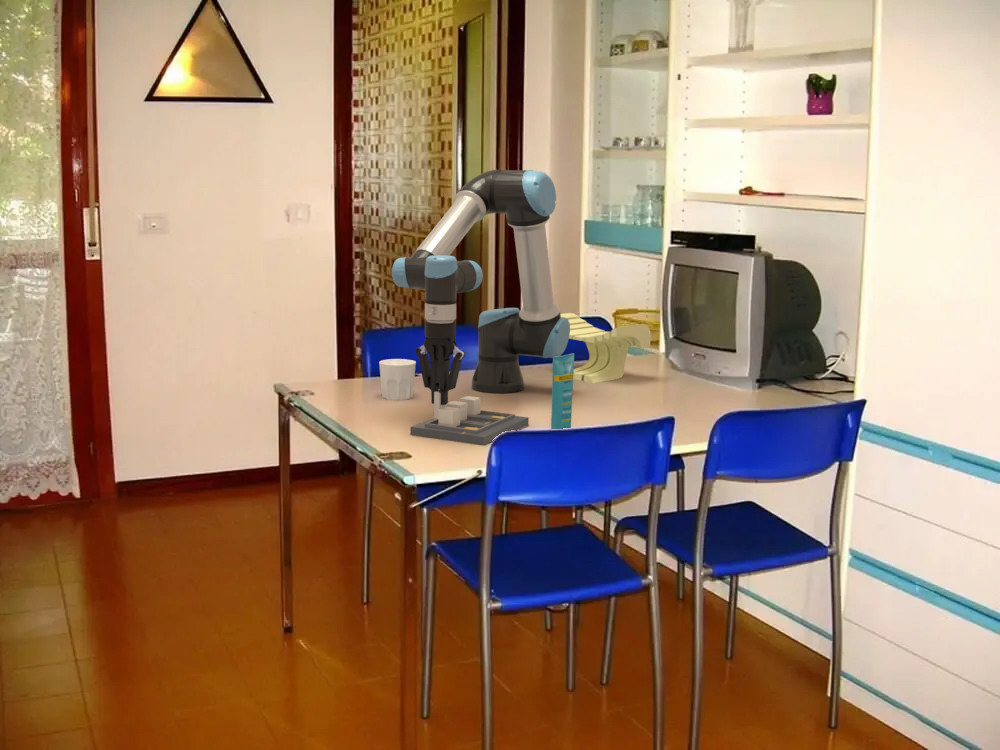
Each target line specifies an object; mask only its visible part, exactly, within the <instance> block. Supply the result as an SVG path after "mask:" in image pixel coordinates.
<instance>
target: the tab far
mask: <svg viewBox="0 0 1000 750" xmlns="http://www.w3.org/2000/svg"><path fill="white" fill-rule="evenodd" d="M481 401H482V399H481V397H476V396H470V395H469V396H468V395H466V396H463V397H460V398H459V402H466V403H467V414H472V415H477V414H480V410H481V403H482V402H481Z"/></svg>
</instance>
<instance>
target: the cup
mask: <svg viewBox="0 0 1000 750" xmlns="http://www.w3.org/2000/svg"><path fill="white" fill-rule="evenodd" d="M378 363H379V364H378V365H379V374H380V385H381V386H380V389H381V390H380V391H381V398H383V399H386V400H387V401H388V400H390V401H392V400H393V401H405V400H410V398H411V399H412V398H414V387H415V375H416V364H417V362H416V360H412V359H406V358H403V359H402V358H391V359H390V358H389V359H382V360H380V361H379V362H378Z"/></svg>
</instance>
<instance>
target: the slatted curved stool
mask: <svg viewBox="0 0 1000 750" xmlns="http://www.w3.org/2000/svg"><path fill="white" fill-rule="evenodd" d="M560 315H561V318H562V317H565V318H567V319H568V321H569V323H570V335H569V339H570V340H574V341H575V340H576V341H580V342H581V341H582V342H584V343H585V345H586V347H587V350H588V354H589V356H588V357H589V358H588V361H587V362H586V363H585V364H583V365H582V366H581V365H580V366H579V367H576V368H574V374H573V380H577V381H582V382H585V383H590V384H595V383H602V382H606V381H607V382H608V381H613V380H617V379H621V378H622V377H623V376H624V374H625V373H624V372H625V365H626V359H627V356H628V352H629V347H636V348H639V349H640V350H642V349H643V350H644V349H648V348H651V337H652V336H651V329H650V326H649V325H647V324H646V323H642V324H633V325H625V326H619V327H615V328H614V329H611V330H610V331H605V330H604V329H602V328H601V329H600V328H598V327H594V325H592V324H590V323H589V322H587V320H585V319H582V318H581V317H580V315H578V314H576V313H573V312H566V313H560Z"/></svg>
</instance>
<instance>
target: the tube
mask: <svg viewBox="0 0 1000 750" xmlns="http://www.w3.org/2000/svg"><path fill="white" fill-rule="evenodd" d="M574 369H575V353H569V354H568V353H567V354H564V355H560V356H557V357H553V358H552V380H551V381H552V383H551V384H552V386H551V416H550V419H551V420H550V430H551V429H563V428H571V429H572V413H573V412H572V407H573V406H572V405H573V391H574V390H573V389H574V379H573V374H574Z"/></svg>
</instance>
